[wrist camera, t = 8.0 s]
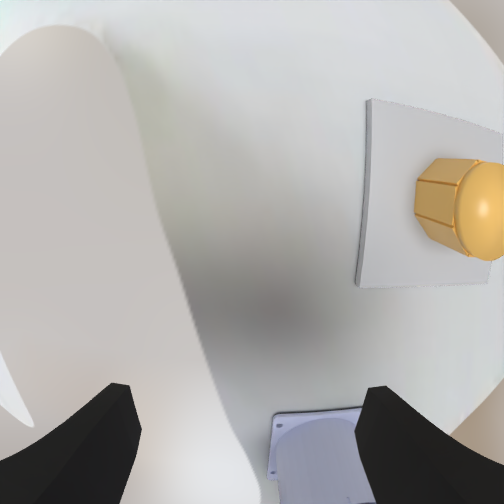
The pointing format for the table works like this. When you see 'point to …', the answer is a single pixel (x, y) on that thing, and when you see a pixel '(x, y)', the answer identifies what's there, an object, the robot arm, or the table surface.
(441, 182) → the wire nut
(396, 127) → the plate
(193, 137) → the table surface
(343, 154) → the table surface
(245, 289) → the table surface
